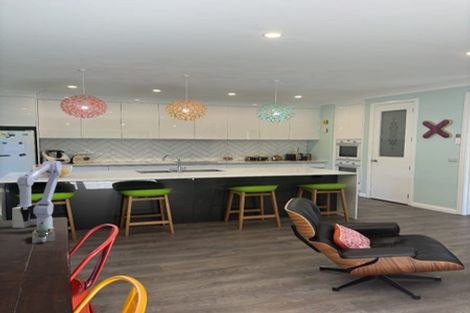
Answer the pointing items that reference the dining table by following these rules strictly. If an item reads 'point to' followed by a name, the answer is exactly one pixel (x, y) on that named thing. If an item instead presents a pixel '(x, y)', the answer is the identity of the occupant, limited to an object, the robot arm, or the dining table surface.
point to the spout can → (42, 227)
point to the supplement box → (19, 219)
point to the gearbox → (43, 236)
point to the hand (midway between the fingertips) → (25, 220)
